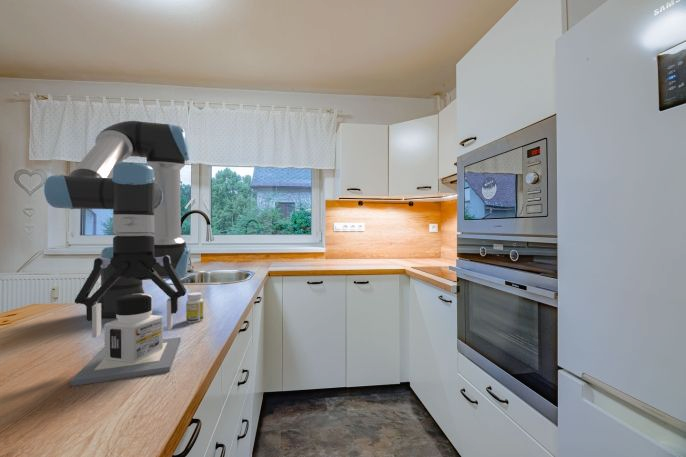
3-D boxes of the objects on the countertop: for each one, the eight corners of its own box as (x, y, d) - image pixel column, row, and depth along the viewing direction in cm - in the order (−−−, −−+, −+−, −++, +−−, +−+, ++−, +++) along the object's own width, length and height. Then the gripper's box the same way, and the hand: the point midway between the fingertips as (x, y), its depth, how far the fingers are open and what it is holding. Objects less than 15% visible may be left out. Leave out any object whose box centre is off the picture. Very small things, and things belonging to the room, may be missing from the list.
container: (134, 363, 64) (134, 300, 64) (103, 360, 65) (103, 298, 65) (163, 348, 71) (163, 292, 71) (134, 346, 73) (134, 291, 73)
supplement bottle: (198, 317, 100) (198, 291, 100) (206, 320, 98) (206, 293, 98) (183, 321, 97) (183, 294, 96) (191, 323, 94) (191, 296, 94)
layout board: (104, 350, 74) (104, 345, 74) (180, 341, 80) (180, 336, 80) (70, 386, 57) (70, 379, 57) (169, 371, 63) (169, 365, 63)
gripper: (53, 235, 60) (53, 345, 60) (195, 234, 69) (196, 330, 69) (70, 234, 67) (71, 333, 67) (198, 233, 76) (198, 320, 76)
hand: (134, 331), depth 68 cm, fingers open, 13 cm apart
